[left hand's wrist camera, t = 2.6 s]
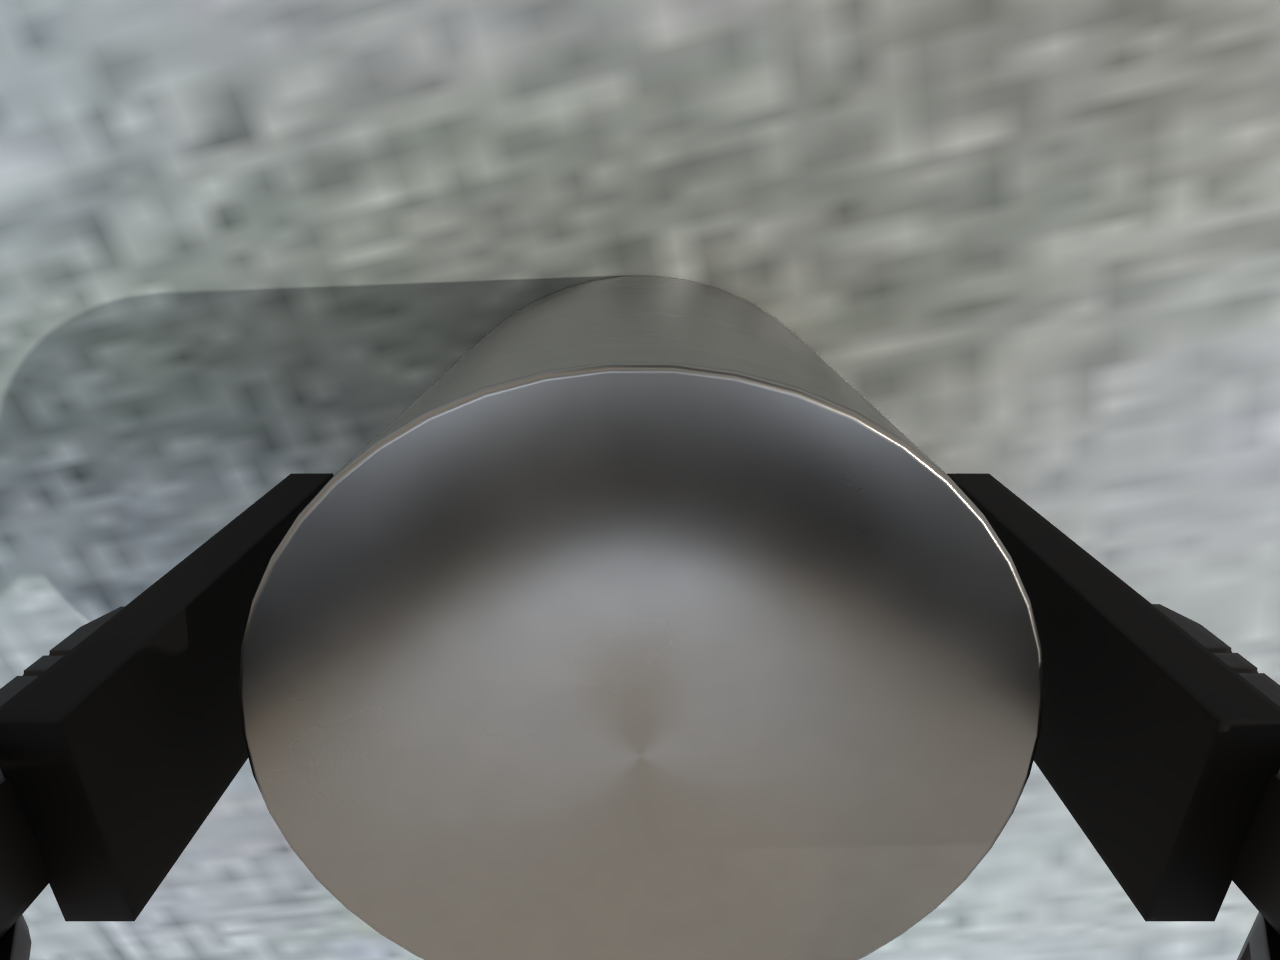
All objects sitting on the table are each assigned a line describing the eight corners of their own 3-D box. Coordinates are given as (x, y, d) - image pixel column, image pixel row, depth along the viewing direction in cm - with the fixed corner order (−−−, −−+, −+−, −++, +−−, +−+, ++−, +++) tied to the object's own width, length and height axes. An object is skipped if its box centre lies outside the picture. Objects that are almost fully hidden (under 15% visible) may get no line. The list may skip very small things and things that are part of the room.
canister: (523, 717, 17) (444, 1068, 10) (346, 365, 14) (62, 533, 7) (896, 613, 16) (1087, 928, 9) (797, 205, 13) (978, 220, 6)
